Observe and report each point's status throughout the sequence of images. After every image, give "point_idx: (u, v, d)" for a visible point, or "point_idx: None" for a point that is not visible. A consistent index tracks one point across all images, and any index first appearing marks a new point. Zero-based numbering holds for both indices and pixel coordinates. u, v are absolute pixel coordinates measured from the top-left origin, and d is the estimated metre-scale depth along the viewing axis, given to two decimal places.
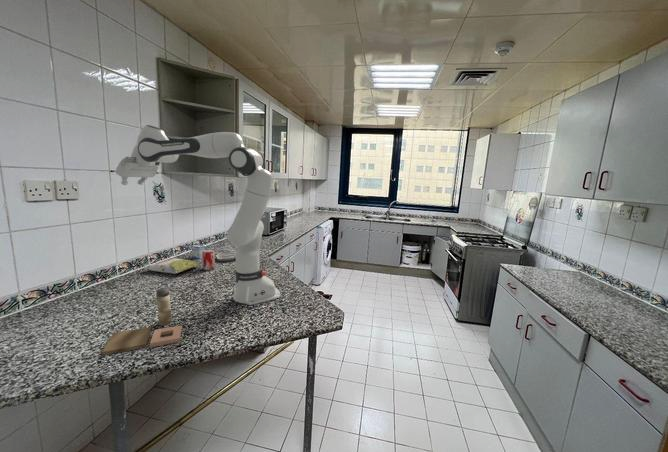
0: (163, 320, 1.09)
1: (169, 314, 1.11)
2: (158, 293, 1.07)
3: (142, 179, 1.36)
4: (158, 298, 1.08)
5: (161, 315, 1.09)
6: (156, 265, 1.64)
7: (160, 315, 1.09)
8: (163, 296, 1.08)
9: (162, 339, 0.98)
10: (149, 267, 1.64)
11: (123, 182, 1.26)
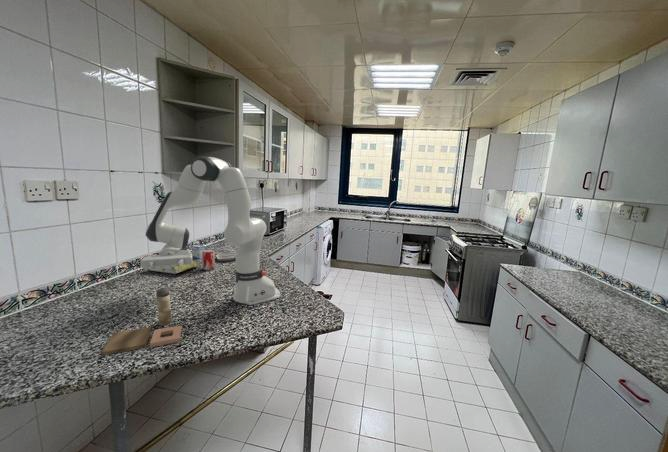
0: (163, 320, 1.09)
1: (169, 314, 1.11)
2: (158, 293, 1.07)
3: None
4: (158, 298, 1.08)
5: (161, 315, 1.09)
6: None
7: (160, 315, 1.09)
8: (163, 296, 1.08)
9: (162, 339, 0.98)
10: None
11: None
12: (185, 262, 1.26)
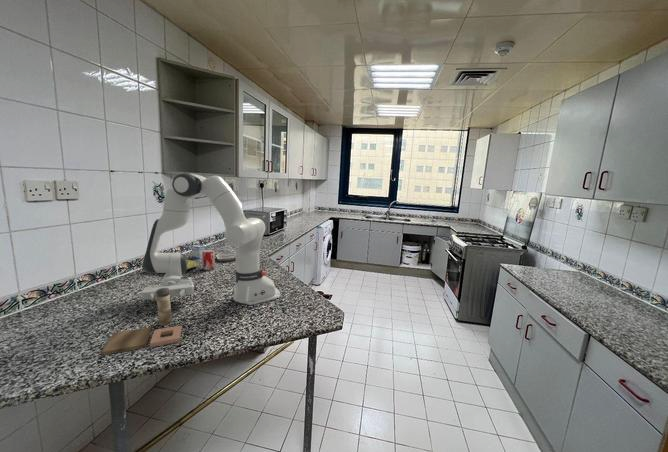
0: (163, 320, 1.09)
1: (169, 314, 1.11)
2: (158, 293, 1.07)
3: None
4: (158, 298, 1.08)
5: (161, 315, 1.09)
6: None
7: (160, 315, 1.09)
8: (163, 296, 1.08)
9: (162, 339, 0.98)
10: None
11: None
12: (186, 292, 1.24)
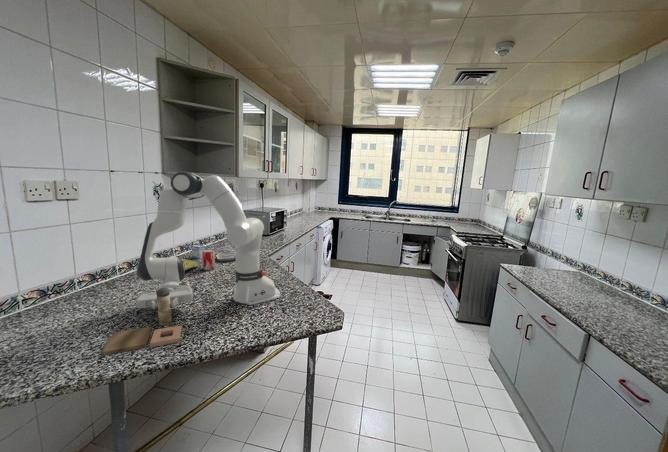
0: (163, 320, 1.09)
1: (169, 314, 1.11)
2: (158, 293, 1.07)
3: None
4: (158, 298, 1.08)
5: (161, 315, 1.09)
6: None
7: (160, 315, 1.09)
8: (163, 296, 1.08)
9: (162, 339, 0.98)
10: None
11: None
12: (185, 300, 1.17)
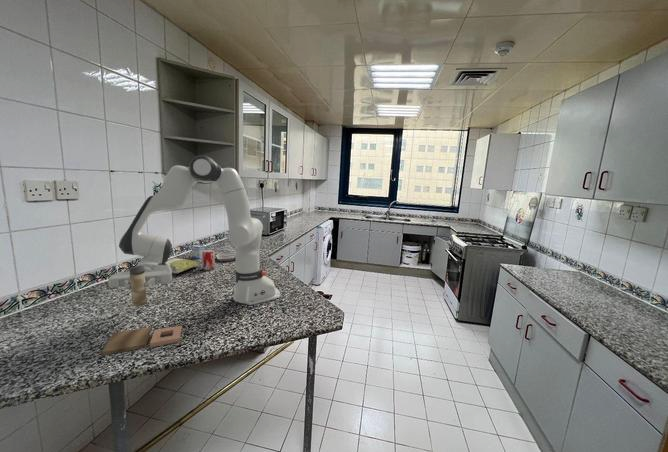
0: (136, 300, 1.00)
1: (144, 294, 1.01)
2: (131, 271, 0.98)
3: None
4: (131, 276, 0.98)
5: (134, 295, 0.99)
6: None
7: (133, 295, 0.99)
8: (136, 274, 0.98)
9: (162, 339, 0.98)
10: None
11: None
12: (162, 280, 1.07)
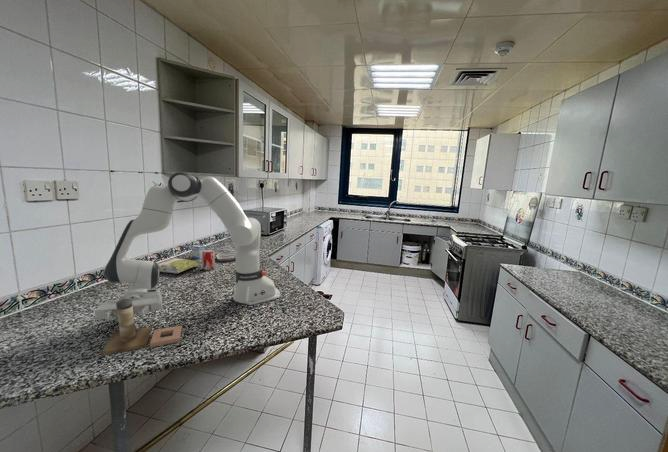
0: (125, 335, 0.96)
1: (132, 329, 0.98)
2: (118, 305, 0.94)
3: None
4: (118, 311, 0.95)
5: (122, 330, 0.96)
6: None
7: (121, 330, 0.96)
8: (124, 308, 0.95)
9: (162, 339, 0.98)
10: None
11: None
12: (152, 309, 1.03)
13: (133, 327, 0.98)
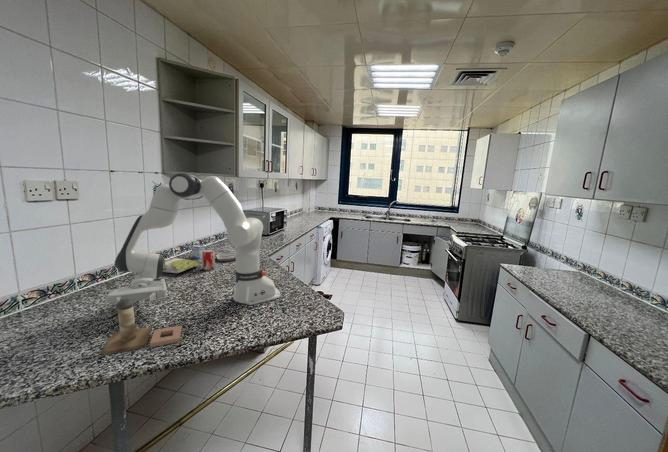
0: (125, 335, 0.96)
1: (132, 329, 0.98)
2: (119, 305, 0.94)
3: None
4: (119, 311, 0.95)
5: (123, 330, 0.96)
6: None
7: (122, 330, 0.96)
8: (124, 309, 0.95)
9: (162, 339, 0.98)
10: None
11: None
12: (157, 295, 1.15)
13: (133, 327, 0.98)
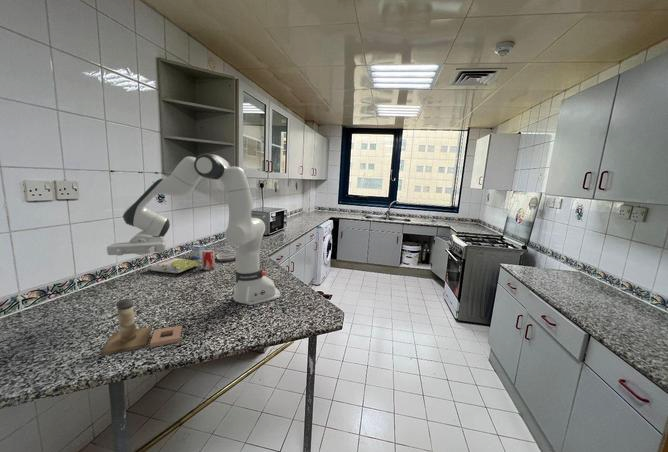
0: (125, 335, 0.96)
1: (132, 329, 0.98)
2: (119, 305, 0.94)
3: None
4: (119, 311, 0.95)
5: (123, 330, 0.96)
6: (157, 265, 1.65)
7: (122, 330, 0.96)
8: (124, 309, 0.95)
9: (162, 339, 0.98)
10: (150, 267, 1.64)
11: None
12: (157, 249, 1.17)
13: (133, 327, 0.98)
